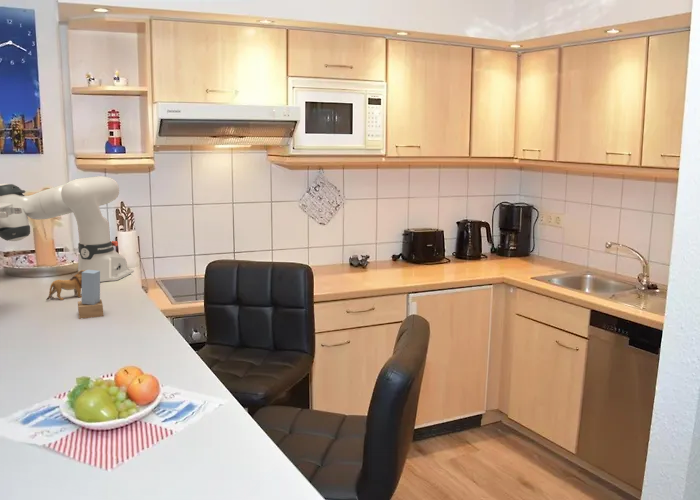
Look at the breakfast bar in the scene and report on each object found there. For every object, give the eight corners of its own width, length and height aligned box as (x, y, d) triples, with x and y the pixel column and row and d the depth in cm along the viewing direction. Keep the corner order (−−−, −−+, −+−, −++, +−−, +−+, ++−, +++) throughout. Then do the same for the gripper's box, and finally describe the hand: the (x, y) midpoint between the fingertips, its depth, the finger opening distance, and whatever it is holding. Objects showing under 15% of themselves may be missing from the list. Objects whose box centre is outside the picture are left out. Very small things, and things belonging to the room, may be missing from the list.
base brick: (78, 313, 209) (77, 301, 208) (102, 311, 211) (101, 299, 211) (79, 319, 202) (78, 307, 202) (103, 317, 205) (102, 304, 204)
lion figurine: (87, 292, 233) (85, 267, 231) (93, 295, 229) (91, 270, 227) (43, 300, 223) (41, 274, 221) (49, 303, 219) (46, 277, 217)
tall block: (87, 300, 208) (87, 269, 206) (99, 301, 208) (100, 270, 206) (81, 303, 204) (81, 272, 202) (94, 304, 204) (94, 273, 202)
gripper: (-14, 217, 212) (30, 218, 213) (-49, 228, 192) (-2, 228, 193) (-15, 198, 211) (28, 198, 211) (-52, 206, 191) (-4, 206, 191)
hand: (14, 212), depth 202 cm, fingers open, 8 cm apart
